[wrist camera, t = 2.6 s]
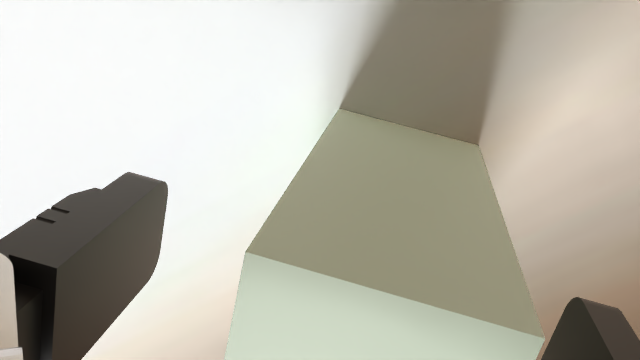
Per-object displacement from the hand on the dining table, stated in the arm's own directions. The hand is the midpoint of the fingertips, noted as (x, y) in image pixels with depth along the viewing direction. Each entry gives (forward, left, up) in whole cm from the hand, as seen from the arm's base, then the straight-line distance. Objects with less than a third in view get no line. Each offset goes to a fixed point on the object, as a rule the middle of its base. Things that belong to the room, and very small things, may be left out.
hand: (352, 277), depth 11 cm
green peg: (0, 0, -6) cm, 6 cm away
